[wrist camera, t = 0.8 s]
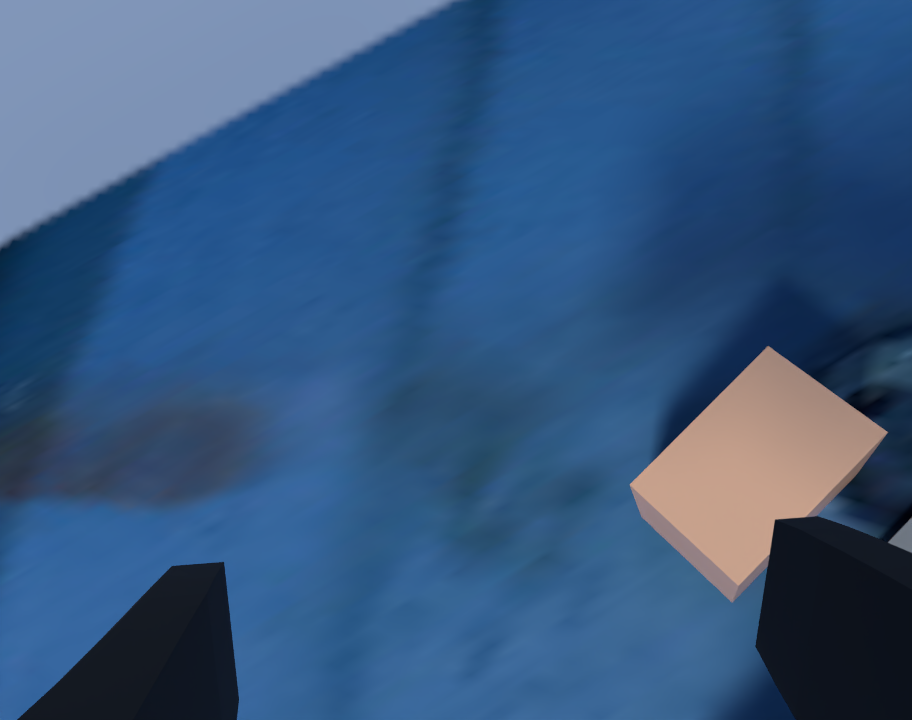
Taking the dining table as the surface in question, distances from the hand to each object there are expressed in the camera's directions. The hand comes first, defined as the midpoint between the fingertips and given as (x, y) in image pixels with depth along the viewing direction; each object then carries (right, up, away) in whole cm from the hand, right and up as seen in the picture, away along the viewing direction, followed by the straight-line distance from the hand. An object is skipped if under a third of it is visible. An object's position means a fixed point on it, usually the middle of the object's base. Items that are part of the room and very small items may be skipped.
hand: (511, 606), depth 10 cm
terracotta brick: (+9, -2, +16) cm, 19 cm away
